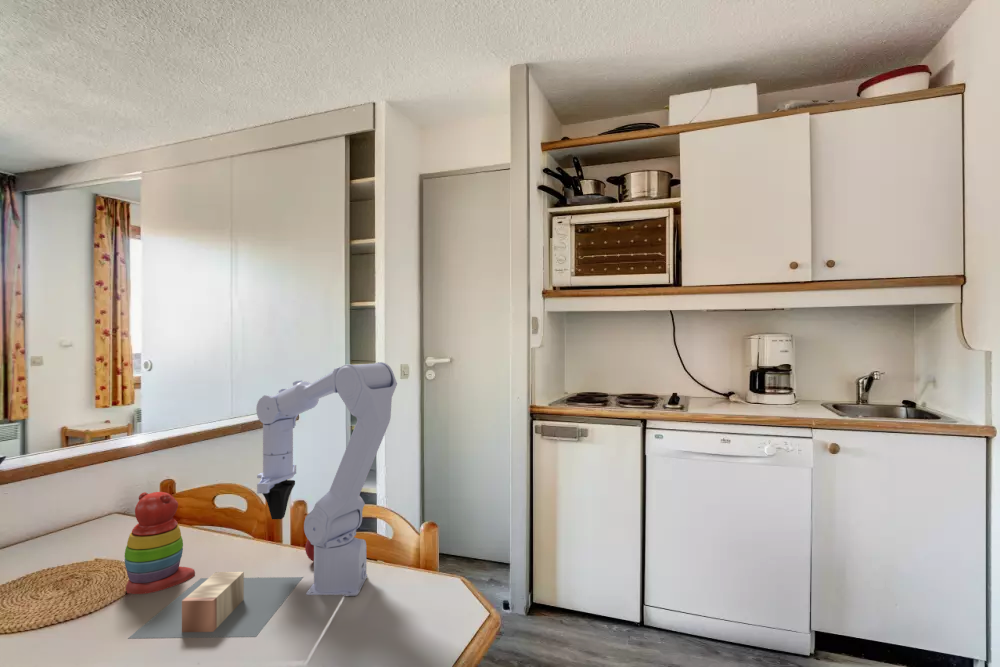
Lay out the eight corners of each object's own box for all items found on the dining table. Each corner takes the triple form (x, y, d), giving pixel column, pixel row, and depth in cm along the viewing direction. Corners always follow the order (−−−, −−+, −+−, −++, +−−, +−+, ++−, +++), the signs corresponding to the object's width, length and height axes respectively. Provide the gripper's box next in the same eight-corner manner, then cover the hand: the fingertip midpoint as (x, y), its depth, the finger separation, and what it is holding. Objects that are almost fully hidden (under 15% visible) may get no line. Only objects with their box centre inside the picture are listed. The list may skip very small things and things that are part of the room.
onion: (325, 571, 104) (325, 532, 104) (299, 568, 105) (299, 530, 105) (339, 559, 109) (339, 522, 109) (315, 556, 110) (315, 520, 111)
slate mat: (303, 579, 100) (303, 577, 100) (255, 639, 80) (255, 636, 80) (200, 580, 100) (200, 578, 100) (127, 641, 80) (127, 638, 80)
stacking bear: (200, 575, 102) (200, 486, 102) (154, 600, 92) (154, 502, 92) (158, 569, 105) (158, 483, 105) (108, 593, 95) (109, 497, 95)
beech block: (243, 571, 91) (213, 600, 81) (243, 599, 91) (213, 631, 81) (215, 572, 91) (181, 600, 81) (215, 600, 91) (181, 632, 81)
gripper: (273, 445, 112) (273, 506, 112) (241, 460, 98) (241, 531, 98) (305, 444, 112) (305, 506, 112) (278, 460, 98) (278, 531, 98)
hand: (278, 518), depth 105 cm, fingers closed
